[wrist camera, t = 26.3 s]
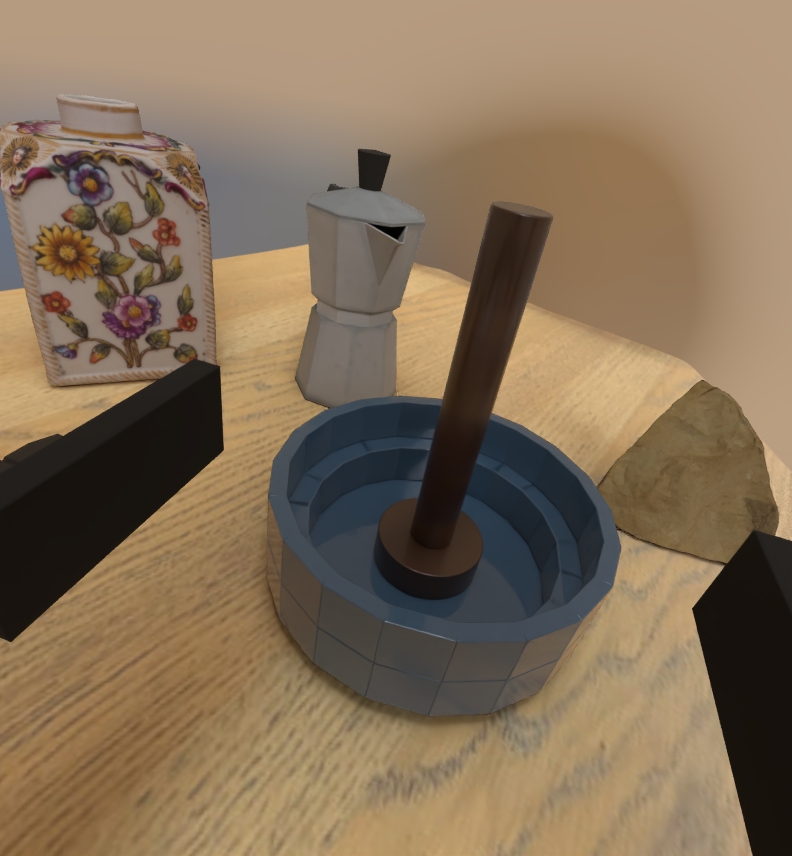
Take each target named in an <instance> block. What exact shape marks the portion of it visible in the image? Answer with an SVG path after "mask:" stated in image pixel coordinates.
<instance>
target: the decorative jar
mask: <svg viewBox="0 0 792 856" xmlns="http://www.w3.org/2000/svg"><path fill="white" fill-rule="evenodd" d="M56 98H57V104H58V108H59V113H60V119H61V121H48V120H47V121H46V120H43V121H39V120H36V121H26V122H9V123H7V124H5V125H4V126H2V127H1V128H0V150H1V151H0V188H1V190H2V192H3V196H4V201H5V205H6V209H7V215H8V217H9V223H10V226H11V232H12V236H13V240H14V245H15V249H16V253H17V258H18V262H19V266H20V270H21V274H22V280H23V283H24V288H25V291H26V296H27V300H28V304H29V308H30V312H31V317H32V320H33V324H34V328H35V332H36V335H37V339H38V343H39V346H40V350H41V353H42V357H43V361H44V364H45V368H46V374H47V379H48V382H49V383H50V384H51V385H53V386H67V385H80V384H93V383H107V382H120V381H134V380H148V379H161V378H162V377H164V376H166V375H167V374H169V373H171V372H172V371H174V370H176V369H178V368H179V367H181V366H183V365H184V364H186V363H188V362H189V361H191V360H193V359H198V360H201V361H204V362H208V363H211V364H214V365H216V330H215V327H216V325H215V305H214V288H213V271H212V268H213V267H212V252H211V236H210V219H209V203H208V199H207V193H206V189H205V183H204V179H203V178H202V177H201V175H200V173H199V170H200V166H199V165H198V163H197V159H196V154H195V152H194V151H193V149H192V148H190V147H189V146H188V145H186V144H183V143H180V142H177V141H175V140H172V139H171V138H169V137H166V136H164V135H157V134H155V133H150V132H146V131H142V127H141V120H140V115H139V110H138V107H137V105H136V104H134V103H130V102H125V101H119V100H113V99H104V98H98V97H91V96H81V95H69V94H60V95H57V97H56Z"/></svg>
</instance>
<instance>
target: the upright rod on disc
mask: <svg viewBox="0 0 792 856" xmlns="http://www.w3.org/2000/svg"><path fill="white" fill-rule="evenodd" d="M552 221H553V216H552V214H550V213H548V212H546V211H544V210H541V209H538V208H534V207H530V206H526V205H521V204H516V203H510V202H493V203H492V204H491V206H490V210H489V214H488V218H487V222H486V226H485V230H484V234H483V238H482V242H481V246H480V250H479V254H478V258H477V262H476V266H475V270H474V275H473V279H472V283H471V287H470V291H469V295H468V299H467V303H466V307H465V311H464V315H463V319H462V323H461V327H460V331H459V335H458V339H457V343H456V347H455V352H454V356H453V360H452V364H451V368H450V372H449V376H448V380H447V384H446V388H445V392H444V396H443V400H442V404H441V408H440V412H439V416H438V420H437V424H436V428H435V433H434V437H433V441H432V445H431V449H430V453H429V457H428V461H427V465H426V469H425V473H424V477H423V481H422V485H421V489H420V493H419V497H417V498H409V499H405V500H401V501H399V502H397V503H395V504H393V505H391V506H390V507H389V508H388V509H387V510H386V511H385V512H384V513H383V515H382V516H381V519H380V521H379V526H378V531H377V536H376V541H375V546H374V557H375V561H376V564H377V566H378V569H379V571H380V572H381V574H382V575H383V576H384V577H385V579H386V580H387V581H388V582H389V583H391V584H392V585H393V586H394V587H396V588H397V589H399V590H400V591H402V592H404V593H406V594H409V595H411V596H414V597H417V598H422V599H430V600H439V599H446V598H449V597H453V596H455V595H457V594H459V593H460V592H462V591H464V590H465V589H466V588H467V587H468V586H469V584H470V583H471V581H472V580H473V577H474V575H475V572H476V569H477V567H478V564H479V561H480V559H481V556H482V553H483V539H482V535H481V533H480V530H479V529H478V527H477V525H476V524H475V523H474V521H473V520H472V519H471V518H470V517H469V516H468V515H467V514H465V513H464V512H463V511H461V508H462V505H463V502H464V499H465V496H466V492H467V489H468V486H469V483H470V480H471V477H472V474H473V470H474V467H475V464H476V461H477V458H478V455H479V451H480V448H481V445H482V442H483V439H484V436H485V432H486V429H487V426H488V423H489V420H490V417H491V413H492V410H493V407H494V404H495V401H496V398H497V394H498V391H499V388H500V385H501V382H502V379H503V375H504V372H505V369H506V366H507V363H508V360H509V357H510V353H511V350H512V347H513V344H514V341H515V338H516V334H517V331H518V328H519V325H520V322H521V319H522V315H523V312H524V309H525V306H526V303H527V300H528V296H529V293H530V290H531V287H532V284H533V281H534V277H535V274H536V271H537V268H538V265H539V262H540V258H541V255H542V252H543V249H544V246H545V242H546V239H547V236H548V233H549V230H550V227H551V224H552Z"/></svg>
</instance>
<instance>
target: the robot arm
mask: <svg viewBox="0 0 792 856" xmlns="http://www.w3.org/2000/svg"><path fill="white" fill-rule="evenodd" d="M222 451H224V444H223V422H222V400H221V378H220V366H217V365H214V364H211V363H208V362H204V361H201V360H198V359H193V360H191V361H189V362H188V363H186V364H184V365H183V366H181V367H179V368H178V369H176V370H174V371H172V372H171V373H169V374H167V375H166V376H164V377H162V378H161V379H159V380H157V381H156V382H154V383H152V384H150V385H149V386H147V387H145V388H144V389H142V390H140V391H139V392H137V393H135V394H134V395H132V396H130V397H128V398H127V399H125V400H123V401H122V402H120V403H118V404H117V405H115V406H113V407H112V408H110V409H108V410H107V411H105V412H103V413H101V414H100V415H98V416H96V417H95V418H93V419H91V420H90V421H88V422H86V423H85V424H83V425H81V426H79V427H78V428H76V429H74V430H73V431H71V432H69V433H68V434H66V435H64V436H62V435H59V434H56V435H52V436H49V437H46V438H43V439H40V440H37V441H34V442H31V443H28V444H26V445H24V446H23V447H21V448H19V449H17V450H16V451H14V452H12V453H10V454H9V455H7V456H5V457H4V459H3V460H2V461H1V460H0V638H2V639H5V640H7V641H9V642H12V641H13V640H14V639H15V638H16V637H17V636H18V635H19V634H21V633H22V632H23V631H24V630H25V629H26V628H27V627H28V626H29V625H31V624H32V623H33V622H34V621H35V620H36V619H37V618H38V617H39V616H41V615H42V614H43V613H44V612H45V611H46V610H47V609H48V608H49V607H51V606H52V605H53V604H54V603H55V602H56V601H57V600H58V599H59V598H60V597H62V596H63V595H64V594H65V593H66V592H67V591H68V590H69V589H70V588H72V587H73V586H74V585H75V584H76V583H77V582H78V581H79V580H80V579H82V578H83V577H84V576H85V575H86V574H87V573H88V572H89V571H90V570H92V569H93V568H94V567H95V566H96V565H97V564H98V563H99V562H100V561H102V560H103V559H104V558H105V557H106V556H107V555H108V554H109V553H110V552H112V551H113V550H114V549H115V548H116V547H117V546H118V545H119V544H120V543H121V542H123V541H124V540H125V539H126V538H127V537H128V536H129V535H130V534H131V533H133V532H134V531H135V530H136V529H137V528H138V527H139V526H140V525H141V524H143V523H144V522H145V521H146V520H147V519H148V518H149V517H150V516H151V515H153V514H154V513H155V512H156V511H157V510H158V509H159V508H160V507H161V506H163V505H164V504H165V503H166V502H167V501H168V500H169V499H170V498H171V497H173V496H174V495H175V494H176V493H177V492H178V491H179V490H180V489H181V488H182V487H184V486H185V485H186V484H187V483H188V482H189V481H190V480H191V479H192V478H194V477H195V476H196V475H197V474H198V473H199V472H200V471H201V470H202V469H204V468H205V467H206V466H207V465H208V464H209V463H210V462H211V461H212V460H214V459H215V458H216V457H217V456H218V455H219V454H220V453H221V452H222ZM692 610H693V614H694V618H695V622H696V626H697V630H698V634H699V639H700V643H701V647H702V651H703V655H704V659H705V663H706V667H707V671H708V675H709V679H710V683H711V688H712V692H713V696H714V700H715V704H716V708H717V712H718V716H719V720H720V724H721V728H722V732H723V737H724V741H725V745H726V749H727V753H728V757H729V761H730V765H731V769H732V773H733V777H734V781H735V786H736V790H737V794H738V798H739V802H740V806H741V810H742V814H743V818H744V822H745V826H746V830H747V834H748V839H749V843H750V847H751V851H752V855H753V856H792V541H790V540H786V539H783V538H780V537H776V536H773V535H770V534H767V533H763V532H760V531H757V530H753V531H752V532H751V534H750V535H749V536H748V538H747V539H746V540H745V541H744V543H743V544H742V545H741V547H740V548H739V549H738V550H737V552H736V553H735V554H734V556H733V557H732V558H731V559H730V561H729V562H728V563H727V565H726V566H725V567H724V568H723V570H722V571H721V572H720V574H719V575H718V576H717V577H716V579H715V580H714V581H713V582H712V584H711V585H710V586H709V588H708V589H707V590H706V591H705V593H704V594H703V595H702V597H701V598H700V599H699V600H698V602H697V603H696V604H695V606H694V607H693V608H692Z"/></svg>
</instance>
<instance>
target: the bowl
mask: <svg viewBox="0 0 792 856" xmlns="http://www.w3.org/2000/svg"><path fill="white" fill-rule="evenodd" d="M442 400H443V399H437V398H424V397H412V396H390V397H380V398H369V399H360V400H356V401H353V402H350V403H347V404H343V405H340V406H337V407H334V408H331V409H328V410H325V411H323V412H321V413H319V414H318V415H316V416H315V417H313V418H312V419H310V420H309V421H307V422H306V423H304V424H303V425H301V426H300V427H298V428H297V429H295V430H294V431H293V432H292V434H291V435H290V437H289V438H288V440H287V441H286V442H285V444H284V445H283V447H282V448H281V450H280V451H279V453H278V454H277V455H276V457H275V458H274V460H273V465H272V472H271V479H270V486H269V493H268V521H267V569H266V572H267V574H266V575H267V579H268V582H269V585H270V589H271V592H272V596H273V599H274V603H275V606H276V610H277V613H278V616H279V619H280V621H281V622H282V623H283V625H284V626H285V627H286V629H287V630H288V631H289V633H290V634H291V635H292V636H293V638H294V639H295V640H296V642H297V643H298V644H299V646H300V647H301V648H302V650H303V651H304V652H305V654H306V655H307V656H308V658H309V659H310V660H311V662H312V663H314V664H315V665H317V666H318V667H320V668H321V669H323V670H324V671H326V672H327V673H329V674H330V675H332V676H333V677H334V678H336V679H337V680H339V681H340V682H342V683H343V684H345V685H346V686H348V687H349V688H351V689H352V690H354V691H355V692H357V693H358V694H360V695H361V696H363V697H366V698H367V699H370V700H373V701H376V702H380V703H383V704H387V705H390V706H394V707H397V708H401V709H404V710H407V711H411V712H414V713H418V714H421V715H425V716H452V715H475V714H489V713H490V714H491V713H493V712H496V711H498V710H500V709H502V708H505V707H507V706H509V705H511V704H514V703H516V702H518V701H520V700H523V699H525V698H527V697H529V696H532V695H534V694H536V693H538V692H539V691H540V690H541V689H542V688H543V687H544V686H545V685H546V684H547V683H548V681H549V680H550V679H551V678H552V677H553V676H554V675H555V674H556V672H557V671H558V670H559V669H560V668H561V667H562V666H563V664H564V663H565V662H566V661H567V660H568V659H569V657H570V656H571V654H572V653H573V651H574V649H575V648H576V646H577V644H578V643H579V641H580V640H581V638H582V636H583V635H584V633H585V632H586V630H587V628H588V626H589V625H590V624H591V622H592V620H593V619H594V617H595V615H596V614H597V612H598V611H599V609H600V607H601V606H602V604H603V603H604V601H605V599H606V598H607V596H608V595H609V593H610V591H611V590H612V588H613V585H614V581H615V576H616V571H617V567H618V562H619V557H620V553H621V544H620V540H619V537H618V533H617V529H616V525H615V521H614V517H613V514H612V510H611V508H610V507H609V505H608V504H607V502H606V501H605V499H604V498H603V496H602V495H601V493H600V492H599V490H598V489H597V488H596V486H595V485H594V483H593V482H592V480H591V479H590V477H589V476H588V475H587V474H586V473H585V472H584V471H583V470H581V469H580V468H579V467H578V466H577V465H576V464H575V463H574V462H573V461H572V460H570V459H569V458H568V457H567V456H566V455H565V454H564V453H563V452H562V451H561V450H559V449H558V448H557V447H556V446H555V445H553V444H551V443H550V442H548V441H546V440H545V439H543V438H541V437H540V436H538V435H537V434H535V433H533V432H532V431H530V430H528V429H527V428H525V427H523V426H522V425H519V424H517V423H515V422H512V421H510V420H507V419H505V418H503V417H500V416H498V415H495V414H493V413H491V417H490V420H489V423H488V426H487V429H486V432H485V436H484V439H483V442H482V445H481V448H480V451H479V455H478V458H477V461H476V464H475V467H474V470H473V474H472V477H471V480H470V483H469V486H468V489H467V492H466V496H465V499H464V502H463V505H462V508H461V511H463V512H464V513H465V514H467V515H468V516H469V517H470V518H471V519H472V520H473V521H474V523H475V524H476V525H477V527H478V529H479V530H480V533H481V535H482V539H483V553H482V556H481V559H480V561H479V564H478V567H477V569H476V572H475V575H474V577H473V580H472V581H471V583H470V584H469V586H468V587H467V588H466V589H465V590H464V591H462V592H460V593H459V594H457V595H455V596H453V597H449V598H446V599H439V600H430V599H422V598H417V597H414V596H411V595H409V594H406V593H404V592H402V591H400V590H399V589H397V588H396V587H394V586H393V585H392V584H391V583H389V582H388V581H387V580H386V579H385V577H384V576H383V575H382V574H381V572H380V571H379V569H378V566H377V564H376V561H375V557H374V546H375V541H376V536H377V531H378V526H379V521H380V519H381V516H382V515H383V513H384V512H385V511H386V510H387V509H388V508H389V507H390V506H391V505H393V504H395V503H397V502H399V501H401V500H405V499H409V498H417V497H419V493H420V489H421V485H422V481H423V477H424V473H425V469H426V465H427V461H428V457H429V453H430V449H431V445H432V441H433V437H434V433H435V428H436V424H437V420H438V416H439V412H440V408H441V404H442Z"/></svg>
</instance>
